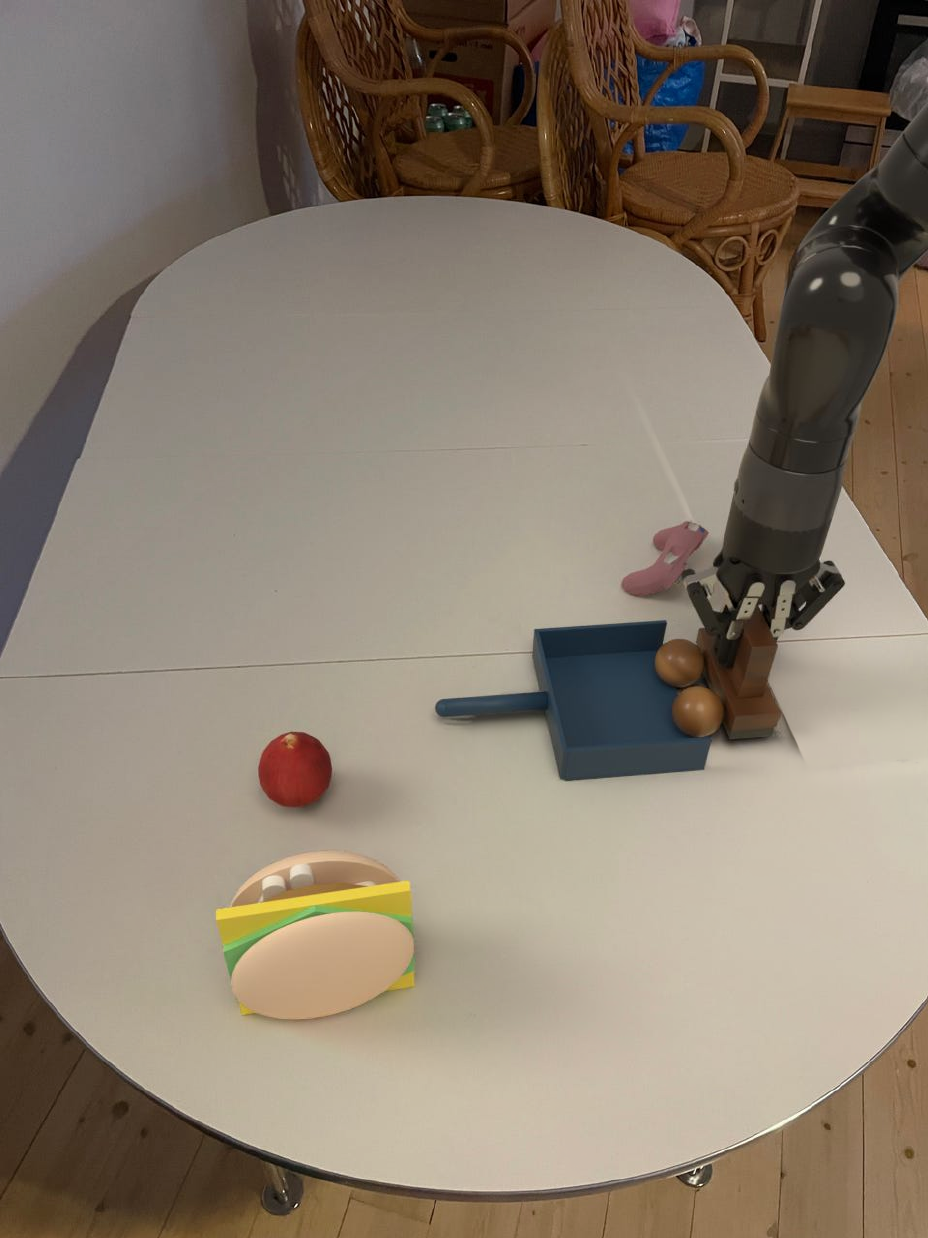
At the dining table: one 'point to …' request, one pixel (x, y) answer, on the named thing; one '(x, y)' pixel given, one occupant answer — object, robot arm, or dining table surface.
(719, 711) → the cork ball
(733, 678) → the brush
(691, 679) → the brown ball
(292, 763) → the onion
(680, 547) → the pink socks
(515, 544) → the dining table surface
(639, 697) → the dustpan
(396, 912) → the hamburger
